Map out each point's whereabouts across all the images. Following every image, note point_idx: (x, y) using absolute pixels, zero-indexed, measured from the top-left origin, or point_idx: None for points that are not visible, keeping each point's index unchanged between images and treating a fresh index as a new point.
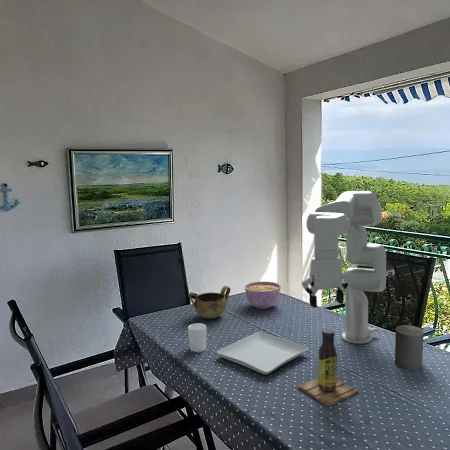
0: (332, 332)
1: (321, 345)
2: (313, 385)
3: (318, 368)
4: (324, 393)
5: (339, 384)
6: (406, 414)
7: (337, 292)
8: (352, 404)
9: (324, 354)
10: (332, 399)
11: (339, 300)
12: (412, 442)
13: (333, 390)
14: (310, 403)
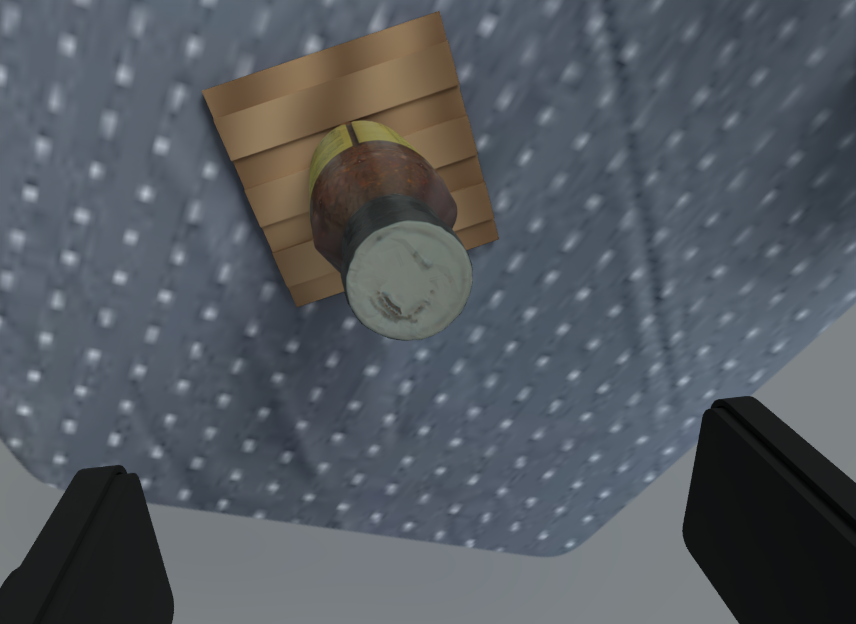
0: (433, 328)
1: (338, 216)
2: (294, 126)
3: (310, 181)
4: None
5: (442, 160)
6: (576, 416)
7: (848, 610)
8: None
9: (335, 264)
10: (339, 275)
11: (717, 535)
12: (483, 537)
13: None
14: (226, 255)
